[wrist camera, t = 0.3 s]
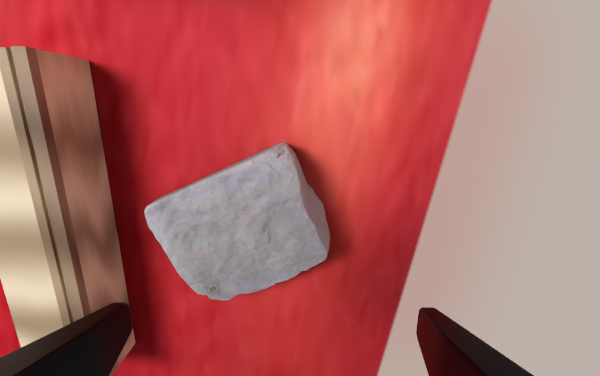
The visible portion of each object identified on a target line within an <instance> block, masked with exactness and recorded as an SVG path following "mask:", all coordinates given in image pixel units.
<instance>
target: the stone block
mask: <svg viewBox="0 0 600 376" xmlns="http://www.w3.org/2000/svg"><path fill="white" fill-rule="evenodd" d="M144 212H145V217H146V220H147V225H148V227H149V229H150V230H151V231H152V232H153V234H154V236H155V238H156V239H157V241H158V242H159V243H160V244H161V246H162V248H163V249H164V251H165V253H166V254H167V256H168V258H169V259H170V261H171V262H172V264H173V266H174V267H175V269H176V271H177V272H178V274H179V275H180V276H181V278H182V279H183V280H184V281H185V282H186V283H187V284H188V285H189V286H190V287H191V288H192V289H193V290H194V291H195V292H196V293H197V294H201V295H207V296H208V297H209V298H210V299H218V300H223V301H225V300H229V299H231V298H232V297H234V296H235V295H237V294H241V293H245V294H249V293H253V292H256V291H259V290H263V289H266V288H268V287H270V286H272V285H274V284H275V283H279V282H282V281H287V280H288V279H290V278H292V277H295V276H296V275H298V274H299V273H300V272H301V271H307V270H308V269H309V268H311V267H313V266H315V265H317V264H319V263H321V262H323V261H324V260H325V259H326V258H327V255H328V250H329V242H330V232H329V228H328V223H327V221H326V215H325V210H324V207H323V203H322V202H321V201H320V199H319V198H318V197H317V195H316V194H315V192H314V189H313V188H311V187H310V186H309V185H308V183H307V181H306V179H305V176H304V173H303V171H302V168H301V166H300V163H299V161H298V159H297V156H296V154H295V152H294V151H293V150H292V149H291V148H290V147H289V145H288V144H286V143H282V142H280V143H278V144H276V145H274V146H272V147H269V148H267V149H265V150H263V151H261V152H258V153H256V154H254V155H252V156H250V157H248V158H246V159H243V160H241V161H239V162H237V163H235V164H232V165H230V166H228V167H226V168H224V169H221V170H219V171H217V172H215V173H213V174H211V175H208V176H206V177H204V178H202V179H200V180H198V181H196V182H193V183H191V184H189V185H187V186H184V187H182V188H180V189H178V190H175V191H173V192H171V193H168V194H166V195H164V196H162V197H161V198H159V199H157V200H155V201H154V202H152V203H151V204H150V205H148V206H147V207H146V209H145V210H144Z"/></svg>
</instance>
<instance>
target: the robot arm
mask: <svg viewBox="0 0 600 376" xmlns="http://www.w3.org/2000/svg"><path fill="white" fill-rule="evenodd" d="M132 328H133V323H132V317H131V312H130V307H129V304H128V303H126V302H114V303H111V304H109V305H107V306H105V307H103V308H101V309H99V310H97V311H95V312H93V313H91V314H89V315H87V316H85V317H82V318H80V319H78V320H76V321H74V322H72V323H70V324H68V325H66V326H64V327H62V328H60V329H58V330H56V331H54V332H52V333H50V334H48V335H46V336H44V337H42V338H40V339H38V340H36V341H34V342H32V343H30V344H27V345H25V346H23V347H21V348H19V349H17V350H15V351H13V352H11V353H9V354H7V355H5V356H3V357H1V358H0V376H109V375H110V373H111V371H112V369H113V367H114V365H115V363H116V361H117V359H118V357H119V356H120V354H121V352H122V350H123V348H124V346H125V344H126V342H127V340H128V338H129V336H130V334H131V332H132ZM417 338H418V342H419V345H420V348H421V352H422V355H423V358H424V361H425V364H426V368H427V371H428V374H429V376H533V375H532V374H530V373H529V372H527V371H526V370H524V369H523V368H521V367H520V366H519V365H517V364H516V363H514V362H513V361H511V360H510V359H508V358H507V357H505V356H504V355H503V354H501V353H500V352H498V351H497V350H495V349H494V348H492V347H491V346H489V345H488V344H486V343H485V342H484V341H482V340H481V339H479V338H478V337H476V336H475V335H473V334H472V333H470V332H469V331H468V330H466V329H465V328H463V327H462V326H460V325H459V324H457V323H456V322H454V321H453V320H451V319H450V318H449V317H447V316H446V315H444V314H443V313H441V312H440V311H438V310H437V309H435V308H421V309H420V310H419V315H418V323H417Z"/></svg>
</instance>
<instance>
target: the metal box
mask: <svg viewBox="0 0 600 376" xmlns="http://www.w3.org/2000/svg"><path fill="white" fill-rule="evenodd" d="M0 279H1V282H2V285H3V289H4V292H5V295H6V299H7V302H8V305H9V309H10V312H11V315H12V319H13V322H14V325H15V329H16V332H17V335H18V339H19V342H20V345H21V347H23V346H25V345H27V344H30V343H32V342H34V341H36V340H38V339H40V338H42V337H44V336H46V335H48V334H50V333H52V332H54V331H56V330H58V329H60V328H62V327H64V326H66V325H68V324H70V323H72V322H74V321H76V320H78V319H80V318H82V317H85V316H87V315H89V314H91V313H93V312H95V311H97V310H99V309H101V308H103V307H105V306H107V305H109V304H111V303H114V302H126V303H128V304H129V300H128V294H127V288H126V282H125V276H124V270H123V264H122V258H121V252H120V246H119V240H118V234H117V228H116V222H115V216H114V210H113V203H112V197H111V191H110V185H109V179H108V173H107V167H106V161H105V155H104V149H103V143H102V137H101V131H100V125H99V119H98V113H97V107H96V101H95V94H94V88H93V82H92V76H91V70H90V64H89V60H85V59H81V58H76V57H72V56H67V55H62V54H58V53H53V52H49V51H44V50H39V49H35V48H30V47H26V46H11V48H6V47H0ZM129 307H130V306H129ZM134 345H135V337H134V331H133V328H132V332H131V334H130V336H129V338H128V340H127V342H126V344H125V346H124V348H123V350H122V352H121V354H120V356H119V357H118V359H117V361H116V363H115V365H114V367H113V369H112V371H111V373H110V375H109V376H112V375H113V373H114V372H115V371H116V369H117V368H118V366H119V365H120V364H121V362H122V361H123V360H124V358H125V357H126V356H127V354H128V353H129V352H130V350H131V349H132V348H133V346H134Z"/></svg>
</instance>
